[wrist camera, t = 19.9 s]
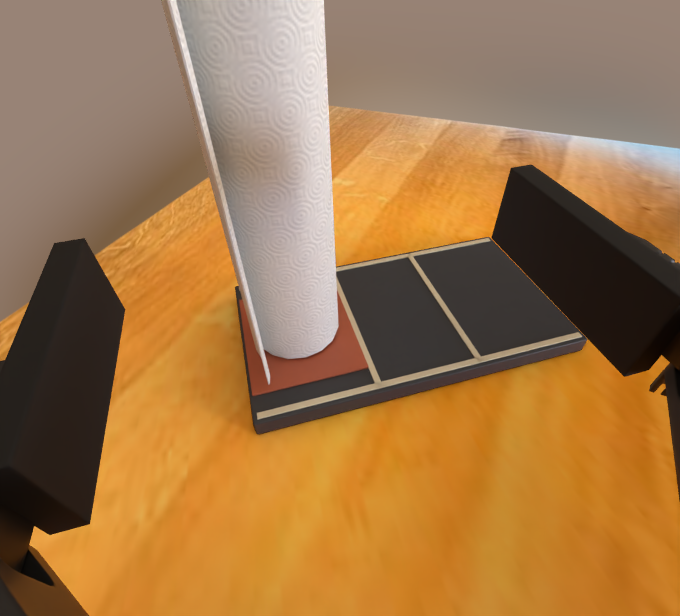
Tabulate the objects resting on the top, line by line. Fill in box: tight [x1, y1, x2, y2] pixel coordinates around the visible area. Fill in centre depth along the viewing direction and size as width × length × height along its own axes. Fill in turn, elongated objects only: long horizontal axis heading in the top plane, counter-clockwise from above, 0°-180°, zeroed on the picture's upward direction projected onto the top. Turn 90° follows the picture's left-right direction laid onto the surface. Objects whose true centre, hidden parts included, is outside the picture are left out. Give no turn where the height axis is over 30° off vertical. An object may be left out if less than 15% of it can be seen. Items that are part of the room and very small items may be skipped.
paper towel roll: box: [161, 0, 339, 385], centre depth 21 cm, size 7×6×21 cm
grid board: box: [235, 237, 587, 434], centre depth 30 cm, size 23×13×1 cm, turn 105°
